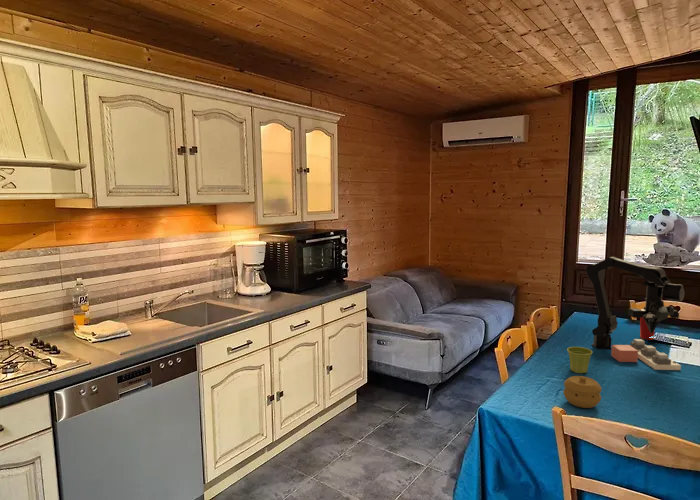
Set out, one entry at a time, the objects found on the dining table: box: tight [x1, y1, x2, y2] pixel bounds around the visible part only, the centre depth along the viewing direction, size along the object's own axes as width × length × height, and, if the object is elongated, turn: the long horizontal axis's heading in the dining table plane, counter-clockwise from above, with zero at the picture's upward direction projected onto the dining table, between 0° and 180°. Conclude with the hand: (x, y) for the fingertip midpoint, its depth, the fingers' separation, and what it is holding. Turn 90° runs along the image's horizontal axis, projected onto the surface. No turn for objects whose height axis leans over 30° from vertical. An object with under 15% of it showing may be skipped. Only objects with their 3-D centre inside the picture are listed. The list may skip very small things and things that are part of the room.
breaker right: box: [655, 352, 669, 359], centre depth 199 cm, size 3×3×2 cm
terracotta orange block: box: [610, 344, 639, 363], centre depth 209 cm, size 7×7×5 cm
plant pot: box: [566, 346, 593, 374], centre depth 195 cm, size 9×9×9 cm
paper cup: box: [639, 308, 656, 341], centre depth 236 cm, size 8×8×14 cm
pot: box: [562, 375, 602, 409], centre depth 166 cm, size 12×12×10 cm
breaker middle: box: [644, 345, 657, 352], centre depth 208 cm, size 3×3×2 cm
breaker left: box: [632, 338, 646, 345], centre depth 217 cm, size 3×3×2 cm
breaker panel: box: [629, 341, 682, 371], centre depth 208 cm, size 10×24×4 cm, turn 176°
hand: (651, 332), depth 207 cm, fingers closed
